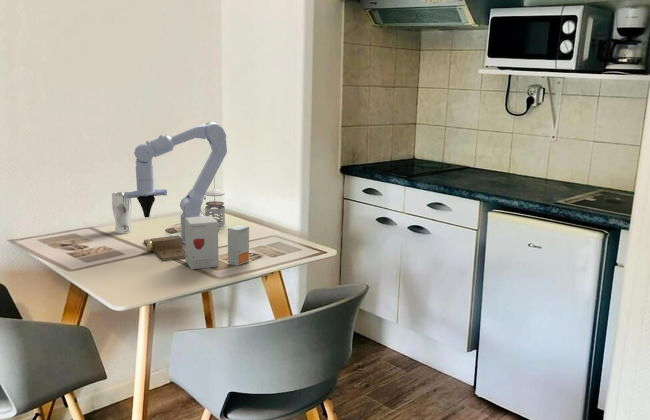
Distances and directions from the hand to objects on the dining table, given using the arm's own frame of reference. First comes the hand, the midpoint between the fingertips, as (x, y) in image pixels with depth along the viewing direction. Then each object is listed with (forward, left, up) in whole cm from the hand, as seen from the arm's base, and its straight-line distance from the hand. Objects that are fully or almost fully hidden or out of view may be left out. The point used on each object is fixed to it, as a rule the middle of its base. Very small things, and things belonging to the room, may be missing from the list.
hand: (146, 216), depth 210 cm
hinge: (-4, +10, -10) cm, 15 cm away
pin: (-3, +10, -10) cm, 14 cm away
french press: (-29, -12, -10) cm, 33 cm away
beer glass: (+4, -20, -10) cm, 23 cm away
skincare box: (-20, +35, -10) cm, 42 cm away
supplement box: (-9, +31, -10) cm, 34 cm away
